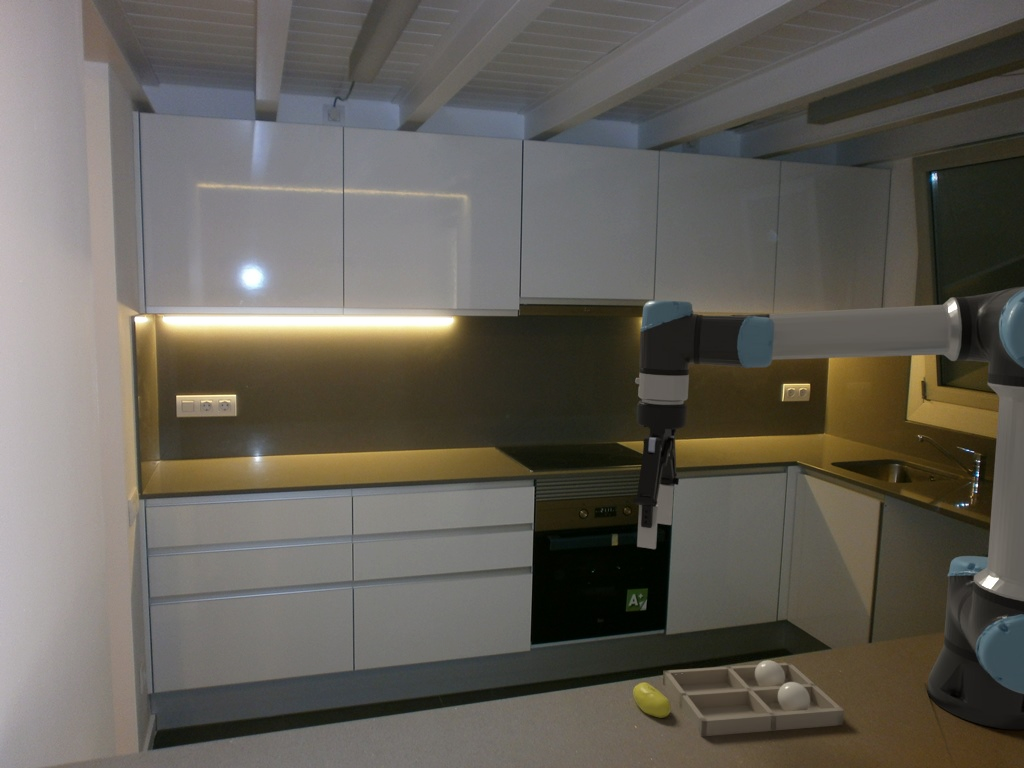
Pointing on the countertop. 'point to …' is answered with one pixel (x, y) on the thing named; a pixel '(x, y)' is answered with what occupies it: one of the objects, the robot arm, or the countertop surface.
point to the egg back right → (769, 674)
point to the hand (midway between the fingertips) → (655, 535)
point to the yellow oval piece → (651, 700)
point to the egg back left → (793, 697)
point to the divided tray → (745, 701)
